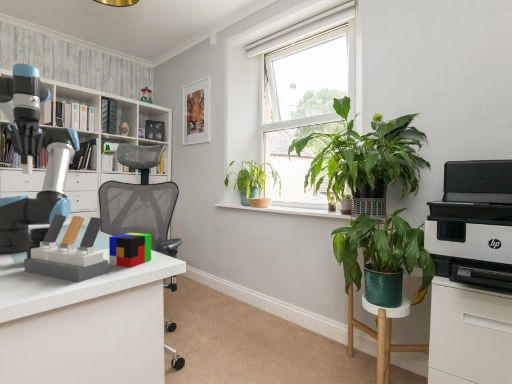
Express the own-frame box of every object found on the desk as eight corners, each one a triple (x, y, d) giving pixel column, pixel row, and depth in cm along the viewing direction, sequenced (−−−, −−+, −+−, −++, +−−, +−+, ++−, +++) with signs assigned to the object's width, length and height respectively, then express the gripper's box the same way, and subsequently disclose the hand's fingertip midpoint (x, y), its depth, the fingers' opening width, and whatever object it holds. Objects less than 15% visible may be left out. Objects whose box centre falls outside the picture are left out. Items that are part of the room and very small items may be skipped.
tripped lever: (64, 248, 93) (78, 218, 97) (70, 249, 92) (84, 218, 96) (58, 247, 91) (73, 216, 96) (65, 248, 90) (79, 216, 94)
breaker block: (56, 263, 102) (55, 213, 101) (108, 272, 92) (108, 217, 92) (24, 271, 92) (23, 216, 92) (78, 282, 83) (78, 221, 82)
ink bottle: (39, 266, 98) (39, 231, 98) (19, 264, 100) (18, 230, 100) (63, 258, 108) (63, 227, 108) (44, 257, 110) (44, 226, 109)
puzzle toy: (109, 264, 101) (109, 236, 101) (130, 258, 110) (130, 232, 110) (131, 267, 98) (131, 239, 97) (151, 260, 107) (151, 234, 107)
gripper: (16, 103, 95) (17, 172, 96) (51, 112, 108) (52, 174, 109) (-1, 104, 97) (0, 172, 98) (35, 113, 110) (36, 174, 110)
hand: (27, 173), depth 103 cm, fingers closed
